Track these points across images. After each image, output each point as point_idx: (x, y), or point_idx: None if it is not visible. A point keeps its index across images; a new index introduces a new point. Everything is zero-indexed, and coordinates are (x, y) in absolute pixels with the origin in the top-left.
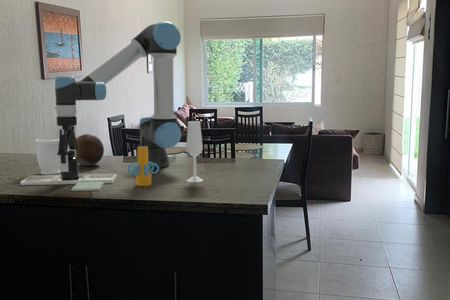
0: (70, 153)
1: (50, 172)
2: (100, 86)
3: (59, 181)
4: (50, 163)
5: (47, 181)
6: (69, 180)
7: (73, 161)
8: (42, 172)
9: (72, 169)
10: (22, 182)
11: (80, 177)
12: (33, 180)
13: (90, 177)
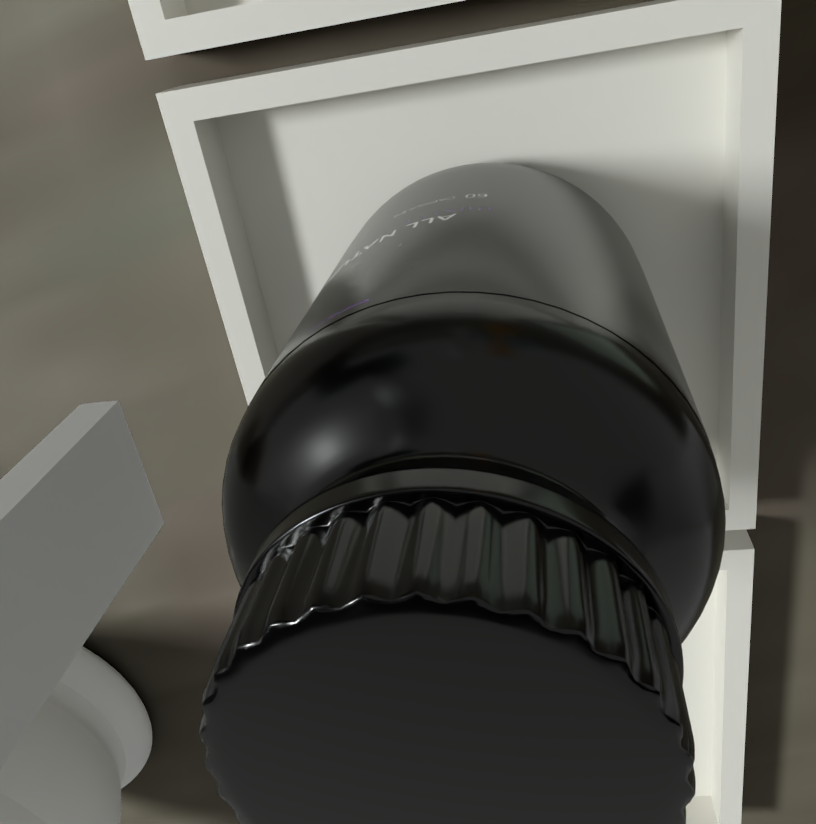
0: (642, 641)
1: (114, 705)
2: None
3: (756, 414)
4: (64, 816)
5: (749, 579)
6: (743, 256)
7: (644, 369)
8: (132, 777)
9: (646, 303)
10: (738, 817)
11: (240, 215)
12: None
13: (189, 8)
